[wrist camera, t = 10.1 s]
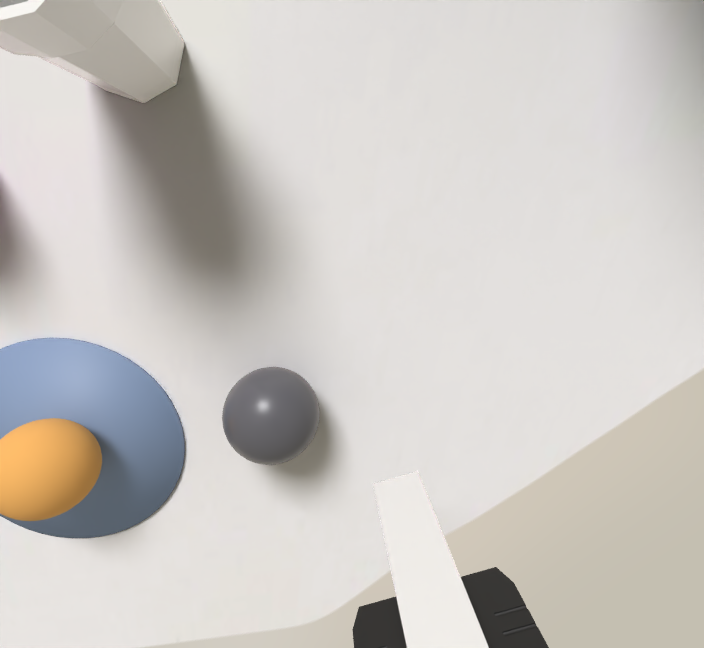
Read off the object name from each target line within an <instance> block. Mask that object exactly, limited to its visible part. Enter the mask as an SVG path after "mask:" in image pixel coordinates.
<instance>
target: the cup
mask: <svg viewBox="0 0 704 648" xmlns="http://www.w3.org/2000/svg"><path fill="white" fill-rule="evenodd" d="M184 44H185V43H184V41H183V39H182V37H181V35H180V34H179V32H178V30H177V28H176V26H175V25H174V23H173V21H172V19H171V18H170V16H169V14H168V12H167V10H166V9H165V7H164V5H163V3H162V1H161V0H0V48H2V49H4V50H6V51H8V52H10V53H13V54H16V55H26V56H36V57H39V58H41V59H43V60H45V61H47V62H50V63H52V64H54V65H56V66H58V67H60V68H62V69H64V70H66V71H68V72H70V73H72V74H74V75H76V76H78V77H81V78H83V79H85V80H87V81H89V82H91V83H93V84H95V85H97V86H98V87H100V88H102V89H103V90H106V91H109V92H112V93H115V94H118V95H120V96H123V97H126V98H129V99H132V100H135V101H138V102H141V103H145V102H147V101H149V100H151V99H152V98H154V97H156V96H158V95H159V94H161V93H163V92H165V91H166V90H168V89H170V88H171V87H173V86H175V85H177V81H178V76H179V70H180V65H181V60H182V55H183V49H184Z"/></svg>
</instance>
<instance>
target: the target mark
mask: <svg viewBox="0 0 704 648" xmlns="http://www.w3.org/2000/svg"><path fill="white" fill-rule="evenodd" d="M49 418H60V419H66V420H70V421H74V422H76V423H78V424H80V425H82V426H84V427H85V428H87V429H88V430H89V431H90V432H91V433H92V434H93V435H94V436H95V438H96V439H97V441H98V443H99V445H100V448H101V453H102V466H101V471H100V474H99V477H98V479H97V481H96V483H95V485H94V487H93V488H92V490H91V491H90V492H89V493H88V495H87V496H86V497H85V498H84V499H83V500H82V501H81V502H79V503H78V504H77V505H75V506H74V507H73V508H71V509H70V510H68V511H66V512H64V513H62V514H60V515H57V516H55V517H52V518H48V519H44V520H38V521H21V520H15V519H12V518H9V517H6V516H4V515H2V514H0V516H2V517H4V518H5V519H7V520H9V521H11V522H13V523H15V524H17V525H19V526H22V527H24V528H26V529H29V530H32V531H35V532H39V533H42V534H47V535H51V536H56V537H66V538H91V537H100V536H105V535H109V534H114V533H117V532H119V531H122V530H125V529H128V528H130V527H132V526H134V525H136V524H138V523H140V522H141V521H143V520H144V519H146V518H147V517H149V516H150V515H151V514H153V513H154V512H155V511H156V510H157V509H158V508H159V507H160V506H161V505H162V504H163V503H164V502H165V501H166V500H167V498H168V497H169V495H170V494H171V492H172V491H173V489H174V487H175V485H176V483H177V481H178V479H179V477H180V473H181V470H182V466H183V461H184V453H185V446H184V435H183V429H182V425H181V422H180V419H179V416H178V414H177V412H176V409H175V407H174V405H173V403H172V402H171V400H170V399H169V397H168V396H167V394H166V393H165V391H164V390H163V389H162V387H161V386H160V385H159V384H158V383H157V382H156V381H155V379H154V378H152V377H151V376H150V375H149V374H148V373H147V372H146V371H145V370H144V369H142V368H141V367H140V366H138V365H137V364H135V363H134V362H132V361H131V360H130V359H128V358H126V357H124V356H122V355H120V354H118V353H117V352H115V351H112V350H110V349H107V348H105V347H102V346H100V345H96V344H92V343H89V342H85V341H80V340H74V339H67V338H42V339H33V340H28V341H23V342H19V343H16V344H13V345H10V346H7V347H4V348H2V349H0V440H1V439H2V438H3V437H4V436H5V435H6V434H8V433H9V432H11V431H12V430H14V429H16V428H18V427H19V426H22V425H24V424H26V423H29V422H32V421H36V420H41V419H49Z"/></svg>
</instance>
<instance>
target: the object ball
mask: <svg viewBox="0 0 704 648" xmlns="http://www.w3.org/2000/svg"><path fill="white" fill-rule="evenodd" d="M101 466H102V453H101V448H100V445H99V443H98V441H97V439H96V438H95V436H94V435H93V434H92V433H91V432H90V431H89V430H88V429H87V428H85V427H84V426H82V425H80V424H78V423H76V422H74V421H70V420H66V419H60V418H49V419H41V420H36V421H32V422H29V423H26V424H24V425H22V426H19V427H18V428H16V429H14V430H12V431H11V432H9V433H8V434H6V435H5V436H4V437H3V438H2V439H1V440H0V514H2V515H4V516H6V517H9V518H12V519H15V520H21V521H38V520H44V519H48V518H52V517H55V516H57V515H60V514H62V513H64V512H66V511H68V510H70V509H71V508H73V507H74V506H75V505H77V504H78V503H79V502H81V501H82V500H83V499H84V498H85V497H86V496H87V495H88V493H89V492H90V491H91V490H92V488H93V487H94V485H95V483H96V481H97V479H98V477H99V474H100V471H101Z"/></svg>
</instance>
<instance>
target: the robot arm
mask: <svg viewBox="0 0 704 648" xmlns="http://www.w3.org/2000/svg"><path fill="white" fill-rule="evenodd" d="M372 484H373V488H374V493H375V498H376V503H377V507H378V512H379V517H380V522H381V526H382V531H383V536H384V541H385V545H386V550H387V555H388V560H389V564H390V569H391V574H392V578H393V583H394V588H395V593H396V597H393V598H389V599H386V600H382V601H379V602H375V603H371V604H368V605H364V606H361V607H359V609H358V612H357V616H356V620H355V623H354V627H353V639H354V648H549V647H548V645H547V644H546V642H545V640H544V638H543V636H542V634H541V633H540V631H539V629H538V627H537V626H536V624H535V621H534V619H533V618H532V616H531V614H530V612H529V610H528V609H527V608H526V605H525V603H524V601H523V599H522V598H521V595H520V593H519V592H518V590H517V588H516V586H515V584H514V583H513V582H512V581H511V580H510V579H509V578H508V577H506V575H504V574H503V573H502V572H501V571H500V570H499V569H498V568H496V567H495V568H491V569H487V570H484V571H480V572H477V573H473V574H470V575H466V576H463V577H460V575H459V572H458V569H457V567H456V565H455V562H454V559H453V557H452V555H451V552H450V549H449V547H448V545H447V542H446V539H445V537H444V534H443V532H442V529H441V527H440V524H439V522H438V519H437V517H436V514H435V512H434V509H433V507H432V504H431V502H430V499H429V497H428V494H427V492H426V489H425V487H424V484H423V482H422V479H421V477H420V474H419V472H418V471H416V472H412V473H408V474H405V475H401V476H398V477H394V478H390V479H387V480H383V481H380V482H376V483H372Z"/></svg>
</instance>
